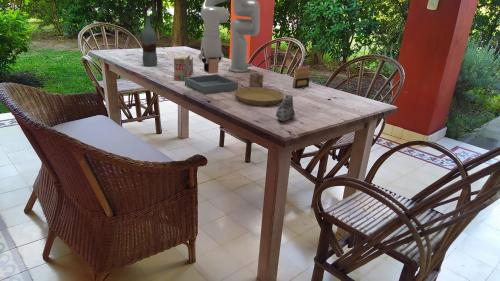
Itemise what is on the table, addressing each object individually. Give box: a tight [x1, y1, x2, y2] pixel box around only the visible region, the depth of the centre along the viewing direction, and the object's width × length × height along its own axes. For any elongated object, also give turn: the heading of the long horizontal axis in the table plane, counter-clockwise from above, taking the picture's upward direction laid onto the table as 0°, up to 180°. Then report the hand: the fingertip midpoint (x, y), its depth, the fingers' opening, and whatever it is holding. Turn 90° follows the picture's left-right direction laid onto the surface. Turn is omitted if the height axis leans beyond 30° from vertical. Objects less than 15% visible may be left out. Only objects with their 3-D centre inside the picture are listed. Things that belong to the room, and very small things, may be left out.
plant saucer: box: [233, 86, 286, 106], centre depth 178 cm, size 24×24×3 cm
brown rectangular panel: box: [292, 64, 310, 89], centre depth 202 cm, size 11×2×12 cm, turn 127°
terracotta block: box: [204, 58, 219, 75], centre depth 189 cm, size 5×5×7 cm
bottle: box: [140, 15, 158, 68], centre depth 230 cm, size 9×9×30 cm
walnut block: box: [248, 72, 264, 88], centre depth 198 cm, size 5×5×7 cm
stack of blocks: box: [173, 53, 194, 82], centre depth 212 cm, size 21×6×12 cm, turn 177°
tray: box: [184, 73, 239, 95], centre depth 193 cm, size 20×20×4 cm
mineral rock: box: [275, 94, 296, 122], centre depth 153 cm, size 13×11×10 cm
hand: (211, 70), depth 190 cm, fingers closed on terracotta block, 5 cm apart
